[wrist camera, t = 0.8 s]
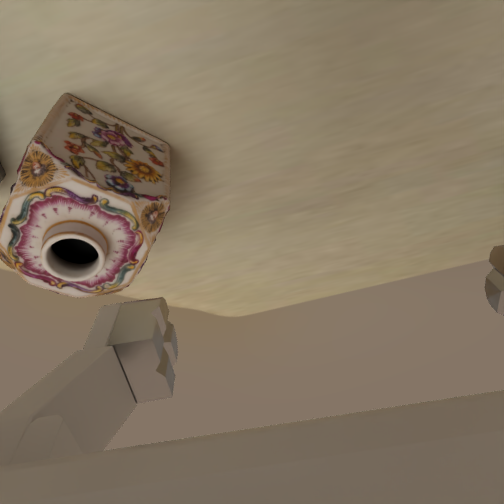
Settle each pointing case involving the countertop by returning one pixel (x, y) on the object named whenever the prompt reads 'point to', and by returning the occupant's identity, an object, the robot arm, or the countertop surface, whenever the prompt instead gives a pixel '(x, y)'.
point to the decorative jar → (85, 202)
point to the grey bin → (2, 173)
